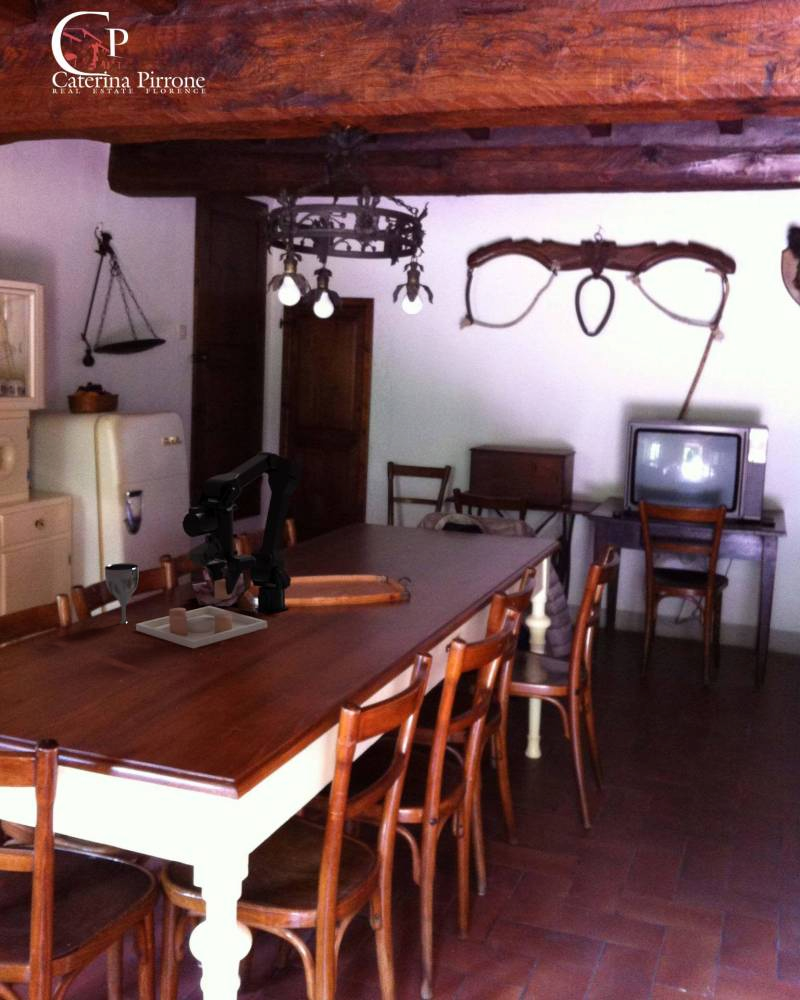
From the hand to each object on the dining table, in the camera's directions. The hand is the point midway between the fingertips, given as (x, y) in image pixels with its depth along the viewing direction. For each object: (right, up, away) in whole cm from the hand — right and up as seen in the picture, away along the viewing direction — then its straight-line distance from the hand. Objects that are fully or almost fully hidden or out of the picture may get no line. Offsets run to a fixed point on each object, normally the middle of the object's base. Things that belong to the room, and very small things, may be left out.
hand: (223, 593), depth 245 cm
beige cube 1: (+1, -9, -7) cm, 11 cm away
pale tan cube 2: (0, -1, 0) cm, 1 cm away
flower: (-5, -5, +23) cm, 24 cm away
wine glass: (-25, -9, +2) cm, 26 cm away
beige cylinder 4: (-11, -8, -2) cm, 13 cm away
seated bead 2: (-9, -9, -9) cm, 15 cm away
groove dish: (-5, -9, -4) cm, 11 cm away
